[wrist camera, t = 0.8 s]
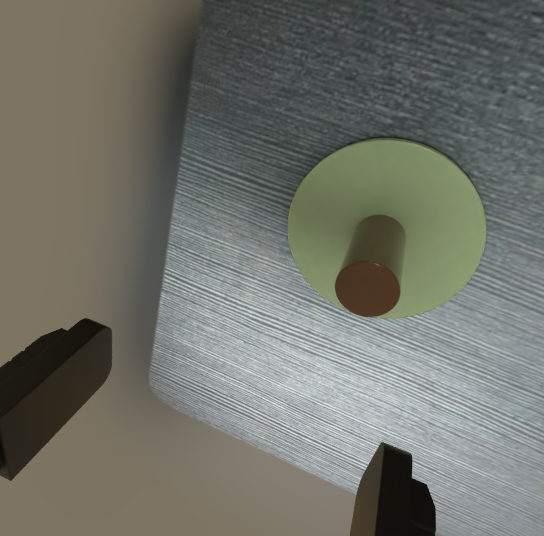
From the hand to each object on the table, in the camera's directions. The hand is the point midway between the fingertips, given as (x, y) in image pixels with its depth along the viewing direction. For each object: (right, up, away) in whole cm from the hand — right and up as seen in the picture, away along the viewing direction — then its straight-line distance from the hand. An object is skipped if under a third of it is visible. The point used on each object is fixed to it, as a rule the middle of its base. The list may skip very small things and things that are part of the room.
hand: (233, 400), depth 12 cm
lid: (+8, +6, +13) cm, 16 cm away
